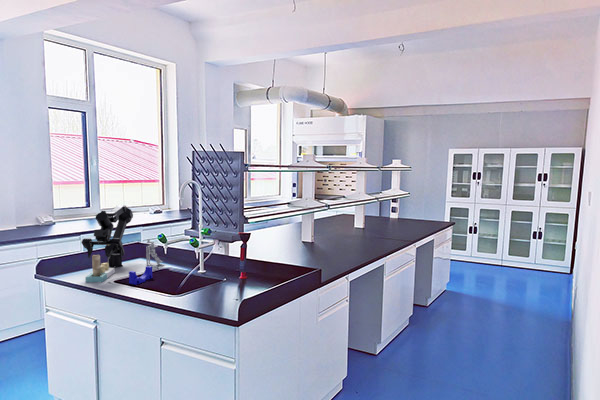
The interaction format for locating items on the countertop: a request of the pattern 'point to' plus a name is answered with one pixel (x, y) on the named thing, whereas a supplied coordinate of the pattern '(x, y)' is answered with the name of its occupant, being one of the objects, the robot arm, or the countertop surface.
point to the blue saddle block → (147, 275)
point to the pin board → (104, 274)
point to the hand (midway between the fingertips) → (98, 257)
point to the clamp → (152, 254)
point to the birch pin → (96, 265)
